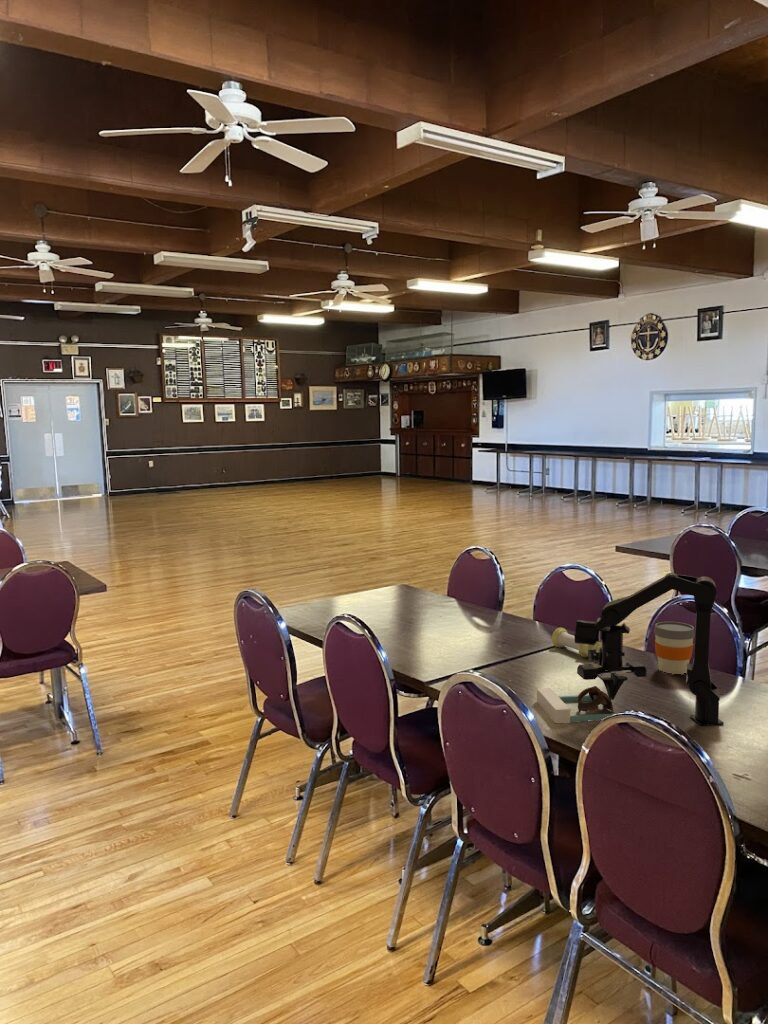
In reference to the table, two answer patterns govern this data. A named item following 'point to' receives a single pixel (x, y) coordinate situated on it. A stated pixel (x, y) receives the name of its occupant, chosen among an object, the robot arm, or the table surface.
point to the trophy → (572, 642)
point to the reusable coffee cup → (673, 646)
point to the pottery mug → (594, 700)
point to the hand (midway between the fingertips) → (611, 699)
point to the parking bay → (562, 706)
